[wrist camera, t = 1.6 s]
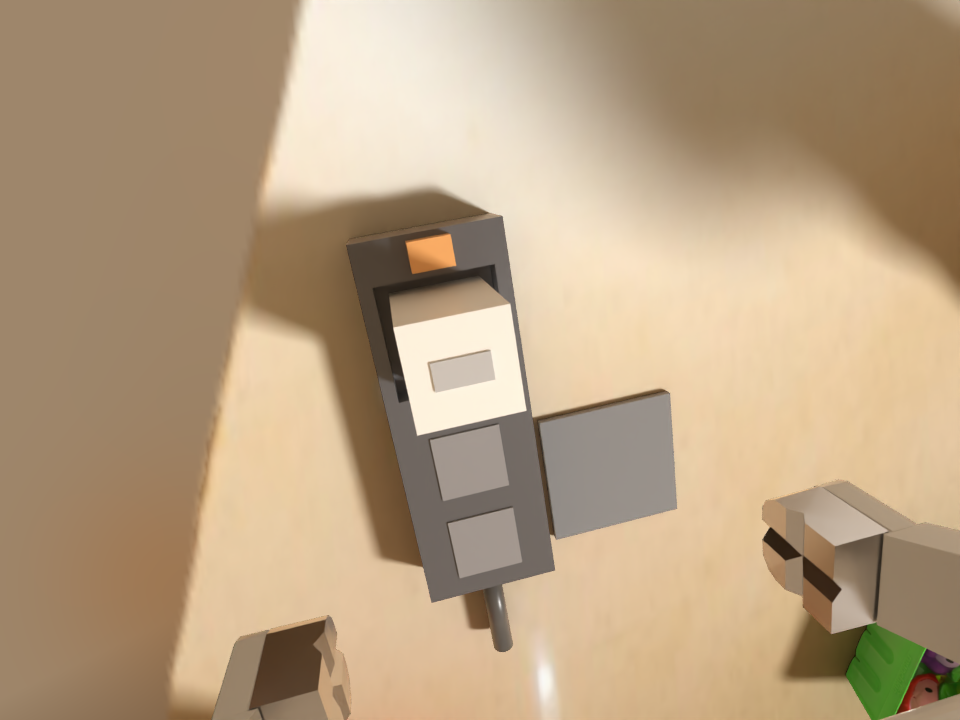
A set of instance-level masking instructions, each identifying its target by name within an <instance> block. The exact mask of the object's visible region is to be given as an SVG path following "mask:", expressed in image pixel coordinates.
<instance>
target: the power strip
mask: <svg viewBox="0 0 960 720" xmlns="http://www.w3.org/2000/svg"><path fill="white" fill-rule="evenodd" d="M346 246H347V250H348V254H349V259H350V263H351V267H352V271H353V275H354V280H355V284H356V288H357V292H358V296H359V300H360V305H361V309H362V313H363V317H364V321H365V326H366V330H367V334H368V338H369V342H370V347H371V351H372V355H373V359H374V363H375V367H376V372H377V376H378V380H379V384H380V388H381V393H382V397H383V401H384V405H385V409H386V413H387V418H388V422H389V426H390V430H391V434H392V439H393V443H394V447H395V451H396V455H397V460H398V464H399V468H400V472H401V476H402V480H403V485H404V489H405V493H406V497H407V501H408V506H409V510H410V514H411V518H412V522H413V526H414V531H415V535H416V539H417V543H418V547H419V552H420V556H421V560H422V564H423V568H424V573H425V577H426V581H427V585H428V589H429V593H430V598H431V602H432V603H433V602H437V601H441V600H444V599H448V598H452V597H456V596H460V595H463V594H467V593H471V592H475V591H479V590H482V589H483V594H484V599H485V604H486V609H487V614H488V619H489V624H490V629H491V634H492V639H493V644H494V648H495V649H496V650H497V651H499V652H506V651H508V650H510V649H511V647H512V645H513V641H512V636H511V631H510V625H509V620H508V615H507V609H506V604H505V598H504V593H503V588H502V584H505V583H509V582H513V581H516V580H520V579H524V578H528V577H532V576H535V575H539V574H543V573H547V572H551V571H554V570H555V566H554V560H553V553H552V546H551V540H550V533H549V526H548V519H547V513H546V506H545V499H544V492H543V486H542V479H541V472H540V465H539V459H538V452H537V445H536V439H535V432H534V425H533V418H532V412H531V405H530V398H529V391H528V385H527V378H526V371H525V364H524V358H523V351H522V344H521V338H520V331H519V324H518V317H517V311H516V304H515V297H514V290H513V284H512V277H511V270H510V263H509V257H508V250H507V243H506V237H505V230H504V223H503V216H500V215H496V214H492V213H487V214H481V215H476V216H471V217H465V218H460V219H454V220H449V221H444V222H438V223H433V224H427V225H422V226H417V227H411V228H406V229H400V230H395V231H390V232H384V233H379V234H373V235H368V236H363V237H357V238H352V239H349V240H348V243H347V245H346ZM474 276H479V277H481V278H482V279H483V280H484V281H485V282H486V283H487V284H489V285H490V286H491V287H492V288H493V289H494V290H495V291H496V292H498V293H499V294H500V295H501V296H502V297H503V298H504V299H506V300H507V301H508V302H509V303H510V305H511V312H512V319H513V325H514V332H515V338H516V345H517V352H518V358H519V365H520V371H521V378H522V385H523V391H524V398H525V404H526V411H523V412H519V413H514V414H510V415H506V416H501V417H497V418H493V419H488V420H484V421H479V422H475V423H471V424H466V425H462V426H457V427H453V428H449V429H444V430H440V431H436V432H431V433H427V434H422V435H418V436H417V432H416V428H415V423H414V419H413V414H412V410H411V405H410V401H409V396H408V392H407V387H406V383H405V378H404V374H403V369H402V365H401V360H400V356H399V351H398V347H397V342H396V338H395V333H394V329H393V322H392V314H391V307H390V299H389V293H394V292H399V291H404V290H409V289H414V288H419V287H424V286H429V285H434V284H439V283H444V282H449V281H454V280H459V279H464V278H469V277H474Z"/></svg>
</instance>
